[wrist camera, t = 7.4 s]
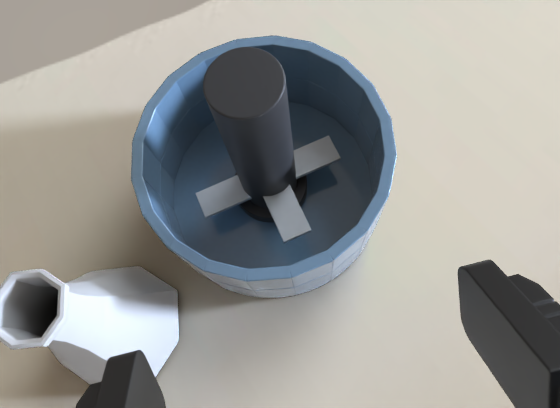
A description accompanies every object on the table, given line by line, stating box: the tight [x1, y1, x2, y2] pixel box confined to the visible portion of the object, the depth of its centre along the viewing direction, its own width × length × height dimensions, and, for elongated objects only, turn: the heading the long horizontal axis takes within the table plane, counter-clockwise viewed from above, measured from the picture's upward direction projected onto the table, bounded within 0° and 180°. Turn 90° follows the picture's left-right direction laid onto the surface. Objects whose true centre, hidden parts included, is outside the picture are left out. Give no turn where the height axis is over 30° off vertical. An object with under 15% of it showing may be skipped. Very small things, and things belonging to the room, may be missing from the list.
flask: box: [0, 266, 179, 385], centre depth 24 cm, size 7×7×10 cm
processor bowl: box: [131, 36, 397, 298], centre depth 28 cm, size 13×13×6 cm
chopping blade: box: [196, 47, 341, 243], centre depth 25 cm, size 8×8×12 cm
